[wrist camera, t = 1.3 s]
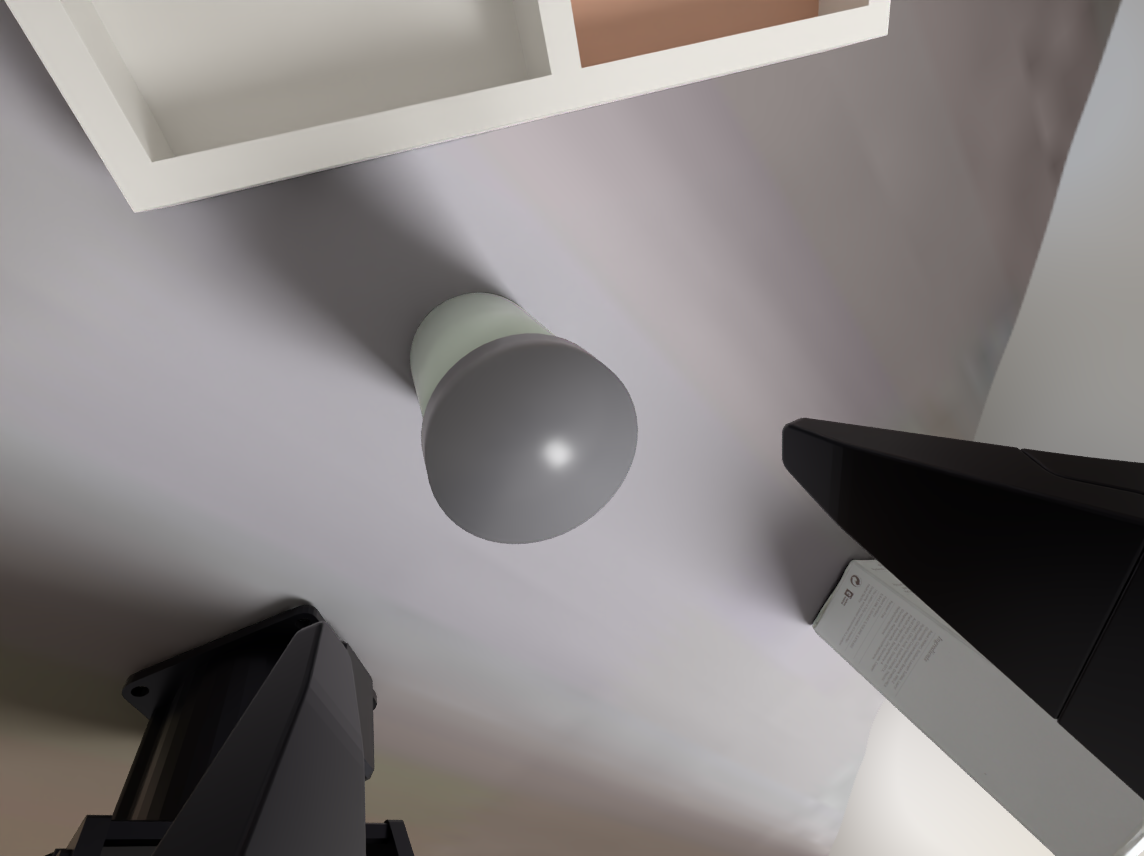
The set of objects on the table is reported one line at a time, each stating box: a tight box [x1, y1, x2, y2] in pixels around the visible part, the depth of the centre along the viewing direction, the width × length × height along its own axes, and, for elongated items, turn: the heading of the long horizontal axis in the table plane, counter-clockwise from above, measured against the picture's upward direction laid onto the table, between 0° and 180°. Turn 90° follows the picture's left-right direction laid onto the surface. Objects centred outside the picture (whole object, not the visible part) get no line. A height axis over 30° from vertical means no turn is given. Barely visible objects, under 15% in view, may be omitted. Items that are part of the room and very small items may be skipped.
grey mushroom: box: [410, 293, 638, 544], centre depth 14 cm, size 5×5×7 cm
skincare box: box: [812, 560, 1144, 856], centre depth 27 cm, size 8×6×15 cm
